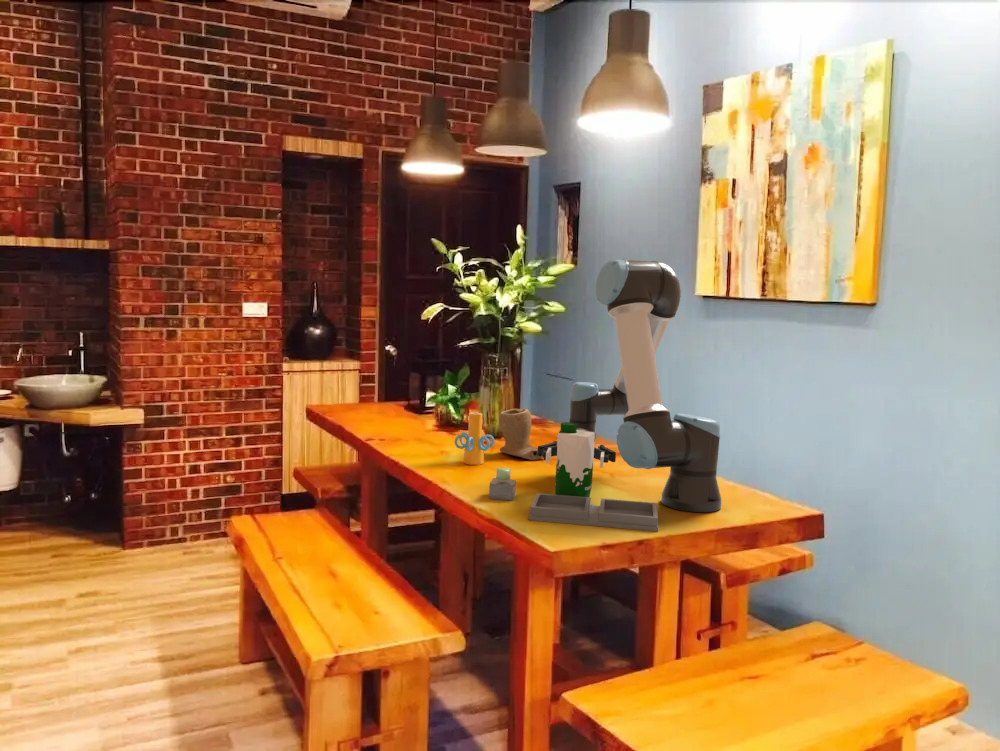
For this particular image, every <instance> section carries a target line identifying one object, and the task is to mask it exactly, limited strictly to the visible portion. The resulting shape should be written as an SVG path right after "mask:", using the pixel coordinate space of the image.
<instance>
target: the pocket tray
mask: <svg viewBox="0 0 1000 751" xmlns="http://www.w3.org/2000/svg"><path fill="white" fill-rule="evenodd" d="M591 499H592V497H591V496H590V497H578V496H566V495H555V493H554V494H551V493H540V492H536V493H535V496H534V498H533V500H532V503H531V505H530V509H529V510H530V511H529V514H528V521H536V522H548V523H557V524H571V525H581V526H592V527H603V528H605V527H606V528H613V529H615V528H616V529H626V530H627V529H628V530H637V531H646V532H647V531H648V532H659V515H658V505H657V504H658V503H657V502H648V501H639V500H638V501H634V500H623V499H612V498H600V503H599V504H600V505H597V504H591V502H592V500H591Z"/></svg>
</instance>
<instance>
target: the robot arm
mask: <svg viewBox="0 0 1000 751" xmlns="http://www.w3.org/2000/svg"><path fill="white" fill-rule="evenodd" d="M681 293H682V290H681V285H680V280H679V277H678V276H677V273H676V272H675V271H674V270H673V268H671V267H670V266H669V265H668V264H666V263H663V262H662V261H655V260H651V261H650V260H636V259H635V260H633V259H631V260H630V259H625V258H622V259H611V260H608V261H607V262H605V263H604V264H603V266H602V267H601V268H600V270H599V272H598V274H597V277H596V281H595V295H596V299H597V301H598V302H599V303H600V304H601V305H603V306H606V307H607V308H606V309H607V315H608V316H610V318H612V319H613V320H614V321H615V327H616V328H615V329H616V334H617V342H618V347H619V348H618V349H619V354H620V361H621V362H620V363H621V367H620V369H619V371H618V374H617V377H616V380H615V382H614V384H613V387H612V388H609V389H608V388H600V389H599V385H598V384H597V383H595V382H588V381H586V382H585V381H576V382H574V383H573V384H572V385H571V390H570V397H569V398H570V399H569V400H570V407H569V408H570V409H569V410H570V411H569V421H568V422H569V423H575V424H577V428H576V430H584V431H588V432H595V435H594V443H595V442H596V440H597V439H596V438H597V433H596V430H597V429H596V426H597V424H596V423H597V418H598V417H597V416H600V417H601V416H623V418H622V419H623V423H622V424H621V425H620V426H619V427H618V429H617V434H616V444H617V445H616V446H617V449H618V452H619V454H620V457H621V459H622V460H623V461H624V462H625V463H626V464H627V465H628V466H629V467H631V468H633V469H644V470H651V469H659V468H670V469H669V474H668V478H667V480H666V483H665V484H664V487H663V489H662V493H661V499H660V500H661V501H660V502H661V504H662V505H663V506H666V507H668V508H670V509H674V510H678V511H683V512H690V513H691V512H692V513H711V512H712V513H713V512H716V511H719V510H720V509H721V508H722V496H721V492H720V488H719V484H718V480H717V471H718V461H719V460H718V459H719V458H718V457H719V449H720V440H721V435H720V434H721V433H720V431H721V430H720V429H721V427H720V423H719V422H718V420H717V421H716V420H715V419H713V418H709V417H704V416H699V415H695V414H688V413H682V412H681V413H679V412H678V413H675V414H674V416H673V418H672V417H671V412H670V410H669V409H668V408H666V407H665V406H664V405H663V400H662V394H661V388H660V381H659V374H658V370H657V369H658V367H657V361H656V353H657V350H658V348H659V346H660V343H661V341H662V339H663V336H664V334H665V331H666V328H667V327H668V323H669V321H670V320H672V319H673V318H675V316H676V314H677V312H678V309H679V305H680V303H681V297H682V296H681ZM671 418H672V419H673V420H672V419H671ZM537 448H538V450H537V456H543V458H542V459H543V461H544V460H545V464H550V461H551V459H552V457H557V440H554V441H552V442H549V443H545V444H541V445H538V446H537ZM616 456H617V452H616V451H614V450H612V449H610V448H608V447H606V446H605V445H604V444H600V445H597V447H595V446H594V460H598V461H599V468H600V469H602V468H604V464H605V463H606V464H607V463H609V461H610V462H611V463H616V461H617V460H616V459H617V457H616Z"/></svg>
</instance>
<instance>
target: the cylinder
mask: <svg viewBox="0 0 1000 751" xmlns="http://www.w3.org/2000/svg"><path fill="white" fill-rule="evenodd" d="M483 415H484V413H481V412H474V411H473V412H469V413H468V428H467V430H468V431H467V432H462V433H460V434H458V435H457V436H456V437H455V439H454V445H455V447H456V448H458V449H461V450H463V463H464V464H467V465H471V466H478V465H479V466H481V465H483V464H484V463H485V452H486V451H488V450H489V449H491V448H492V447H493V446H494V444H495V438H494V436H493V435H491V434H484V435H483ZM463 438H464V440H465V443H464V441H463ZM458 440H459V443H460V444H459V443H458ZM484 440H485V442H486V444H484ZM490 440H491V442H490Z"/></svg>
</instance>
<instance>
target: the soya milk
mask: <svg viewBox="0 0 1000 751" xmlns="http://www.w3.org/2000/svg"><path fill="white" fill-rule="evenodd" d="M576 428H577V424H575V423H569V421H568V422H564V421H563V422H561V423H560V430H559V431H558V433H557V439H556V441H557V456H556V464H555V466H556V467H555V488H554V491H555V492H554V494H555V495H566V496H578V497H590V498H591V491H592V485H593V471H594V460H595V458H594V447H595V442H594V435H595V433H596V431H595V432H588V431H584V430H576Z"/></svg>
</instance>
